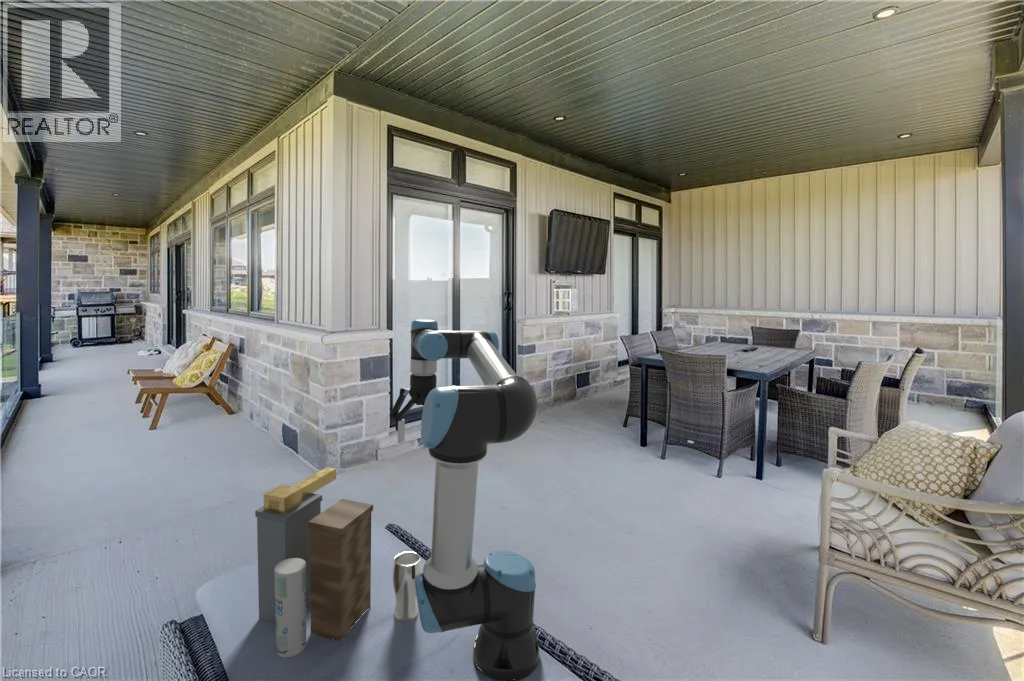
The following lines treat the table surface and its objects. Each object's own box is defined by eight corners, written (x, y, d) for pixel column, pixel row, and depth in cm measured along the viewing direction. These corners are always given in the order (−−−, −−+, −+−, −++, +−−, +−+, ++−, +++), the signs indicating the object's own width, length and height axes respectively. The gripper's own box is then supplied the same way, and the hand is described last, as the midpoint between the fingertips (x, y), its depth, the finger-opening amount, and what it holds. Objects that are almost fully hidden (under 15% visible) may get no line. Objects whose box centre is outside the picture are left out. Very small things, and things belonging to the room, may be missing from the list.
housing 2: (341, 600, 131) (342, 498, 128) (372, 607, 129) (373, 504, 125) (308, 633, 119) (308, 521, 115) (341, 642, 116) (341, 528, 113)
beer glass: (413, 625, 123) (414, 568, 121) (387, 620, 124) (388, 564, 123) (424, 607, 130) (425, 553, 128) (399, 602, 131) (400, 549, 129)
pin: (284, 514, 118) (284, 498, 118) (263, 509, 120) (263, 494, 120) (340, 479, 139) (340, 466, 139) (322, 476, 141) (322, 462, 141)
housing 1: (294, 588, 135) (293, 489, 132) (322, 595, 133) (322, 495, 129) (257, 618, 123) (255, 510, 119) (287, 627, 120) (286, 517, 117)
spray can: (310, 649, 114) (310, 567, 111) (280, 662, 109) (279, 577, 107) (301, 633, 119) (301, 554, 116) (272, 645, 114) (270, 563, 112)
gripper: (468, 375, 144) (466, 446, 146) (391, 367, 151) (390, 435, 153) (458, 379, 137) (456, 454, 139) (378, 371, 144) (377, 442, 146)
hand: (421, 444), depth 146 cm, fingers open, 13 cm apart
